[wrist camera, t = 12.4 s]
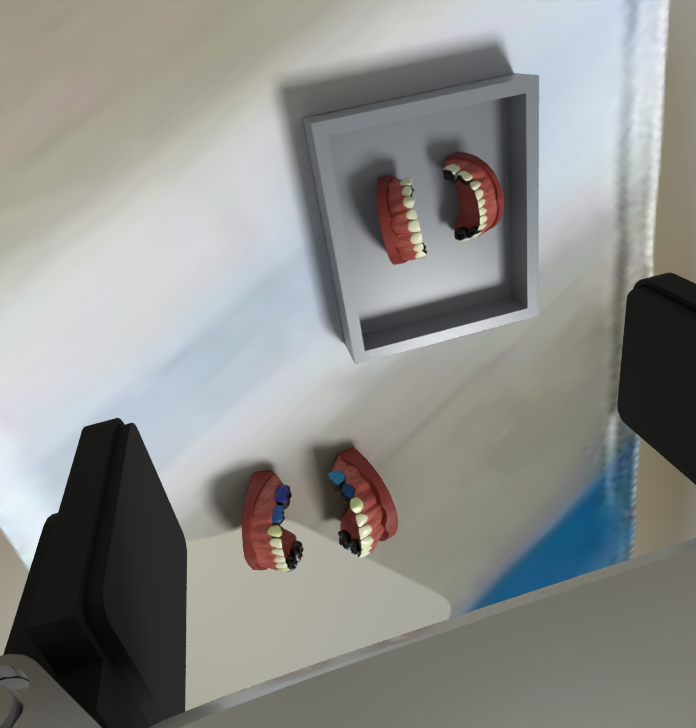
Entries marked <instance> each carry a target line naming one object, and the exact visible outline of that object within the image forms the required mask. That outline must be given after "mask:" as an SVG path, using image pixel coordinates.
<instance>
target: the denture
mask: <svg viewBox="0 0 696 728" xmlns="http://www.w3.org/2000/svg"><path fill="white" fill-rule="evenodd" d="M444 165H445V166H444V168H443V175H444V178H445V179H446V180H449V181H450V182H452V183H456V186H457V190H458V195H459V202H460V214H459V218H458V220H457V222H456V224H455V226H454V236H455V239H456V240H459V241H467V240H469V239H470V238H475V237H477V236H480V235H482V234H483V233H484V232H486V231H488V230H490V229H491V228H493V227H495V226H496V225H497V224H498V222H499V221H500V219H501V217H502V211H503V207H504V195H503V191H502V188H501V185H500V183H499V181H498V179H497V176H496V174H495V173H494V171H493V170H492V169H491V167H490V166H489V165H488V164H487V163H486V162H484V161H483V160H482V159H480V158H479V157H477V156H475V155H472V154H469V153H465V152H456V153H454V154H452V155H450V156H448V157H446V160H445V163H444ZM413 192H414V189H413V188H412V178H411V177H408V178H405V179H403V180H401V179H398V178H397V177H395V176H393V175H387V176H383V177H379V178H378V179H377V186H376V197H377V209H378V216H379V222H380V228H381V233H382V237H383V241H384V245H385V248H386V251H387V254H388V257H389V260H390V261H391V263H392V264H393V265H397V264H402V263H405V262H407V261H408V260H415V259H423V258H425V257H426V256H427V253H428V252H427V251H426V250H425V249H426V246H425V245H424V243H423V242H422V241H423V240H422V234H421V232H419V231H421V229H420V225H419V222H418V220H417V213H416V211H415V209H412V208H413V206H414V203H415V200H414V198H413V197H412V195H413ZM414 219H415V220H414ZM413 232H414V233H413Z"/></svg>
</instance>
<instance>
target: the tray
mask: <svg viewBox="0 0 696 728" xmlns="http://www.w3.org/2000/svg"><path fill="white" fill-rule="evenodd" d="M302 120H303V125H304V130H305V135H306V141H307V146H308V151H309V156H310V162H311V167H312V172H313V177H314V183H315V188H316V193H317V198H318V204H319V209H320V214H321V219H322V225H323V230H324V235H325V240H326V246H327V251H328V256H329V261H330V267H331V272H332V277H333V282H334V288H335V293H336V298H337V303H338V308H339V314H340V319H341V324H342V329H343V335H344V340H345V345H346V347H347V349H348V351H349V353H350V355H351V357H352V359H353V361H354V363H355V364H358V363H362V362H366V361H369V360H373V359H377V358H381V357H385V356H388V355H392V354H396V353H400V352H403V351H407V350H411V349H415V348H418V347H422V346H426V345H430V344H433V343H437V342H441V341H445V340H448V339H452V338H456V337H460V336H464V335H467V334H471V333H475V332H479V331H482V330H486V329H490V328H494V327H497V326H501V325H505V324H509V323H512V322H516V321H520V320H524V319H527V318H531V317H535V316H538V167H539V75H528V74H515V73H514V74H509V75H504V76H500V77H495V78H490V79H485V80H481V81H476V82H471V83H466V84H462V85H457V86H452V87H447V88H443V89H438V90H433V91H428V92H424V93H419V94H414V95H409V96H405V97H400V98H395V99H391V100H386V101H381V102H376V103H372V104H367V105H362V106H357V107H353V108H348V109H343V110H338V111H334V112H329V113H324V114H319V115H315V116H310V117H305V118H302ZM456 152H465V153H469V154H472V155H475V156H477V157H479V158H480V159H482V160H483V161H484V162H486V163H487V164H488V165H489V166H490V167H491V169H492V170H493V171H494V173H495V174H496V176H497V179H498V181H499V183H500V185H501V188H502V191H503V195H504V207H503V211H502V217H501V219H500V221H499V222H498V224H497V225H496V226H495V227H493V228H491V229H490V230H488V231H486V232H484V233H483V234H482V235H480V236H477V237H475V238H470V239H469V240H467V241H459V240H456V239H455V236H454V226H455V224H456V222H457V220H458V218H459V214H460V202H459V195H458V190H457V186H456V183H452V182H450V181H449V180H446V179H445V178H444V175H443V168H444V166H445V165H444V163H445V160H446V157H448V156H450V155H452V154H454V153H456ZM387 175H393V176H395V177H397V178H398V179H401V180H403V179H405V178H408V177H411V178H412V188H413V189H414V192H413V195H412V197H413V198H414V200H415V203H414V206H413V208H412V209H415V211H416V213H417V220H418V222H419V225H420V229H421V231H419V232H421V234H422V240H423V241H422V242H423V243H424V245H425V246H426V249H425V250H426V251H427V252H428V253H427V256H426V257H425V258H423V259H415V260H408V261H407V262H405V263H402V264H397V265H393V264H392V263H391V261H390V260H389V257H388V254H387V251H386V248H385V245H384V241H383V237H382V233H381V228H380V222H379V216H378V209H377V197H376V186H377V179H378V178H379V177H383V176H387ZM414 220H415V219H414ZM413 233H414V232H413Z"/></svg>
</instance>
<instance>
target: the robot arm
mask: <svg viewBox="0 0 696 728" xmlns="http://www.w3.org/2000/svg"><path fill="white" fill-rule="evenodd" d="M617 405H618V412H619V415H620V417H621V419H622V420H623V422H624V423H625V424H626V425H627V426H628V427H630V428H631V429H632V430H633V431H634V432H635V433H637V434H638V435H639V436H640V437H641V438H642V439H644V440H645V441H646V442H647V443H648V444H649V445H651V446H652V447H653V448H654V449H655V450H656V451H657V452H659V453H660V454H661V455H662V456H663V457H664V458H665V459H667V460H668V461H669V462H670V463H671V464H672V465H674V466H675V467H676V468H677V469H678V470H679V471H680V472H682V473H683V474H684V475H685V476H686V477H687V478H689V479H690V480H691V481H692V482H693V483H694V484H695V485H696V284H695V283H693V282H691V281H689V280H687V279H684V278H682V277H680V276H678V275H676V274H673V273H665V274H661V275H657V276H653V277H650V278H646V279H642V280H639V281H638V282H637V283H636V284H635V286H634V288H633V290H631V291H630V292H629V294H628V296H627V303H626V314H625V325H624V336H623V348H622V359H621V370H620V382H619V393H618V404H617ZM186 584H187V549H186V542H185V538H184V534H183V532H182V529H181V527H180V525H179V522H178V520H177V518H176V516H175V513H174V511H173V509H172V506H171V504H170V502H169V500H168V497H167V495H166V493H165V490H164V488H163V486H162V484H161V481H160V479H159V477H158V474H157V472H156V470H155V468H154V465H153V463H152V461H151V458H150V456H149V454H148V452H147V449H146V447H145V445H144V442H143V440H142V438H141V436H140V433H139V431H138V429H137V427H136V425H135V424H134V423H129V424H125V425H124V423H123V422H122V420H121V419H119V418H115V419H112V420H108V421H104V422H100V423H97V424H93V425H89V426H86V427H84V428H83V430H82V433H81V436H80V440H79V443H78V446H77V450H76V453H75V457H74V460H73V464H72V467H71V471H70V474H69V477H68V481H67V484H66V488H65V491H64V495H63V498H62V502H61V505H60V508H59V512H58V513H56V514H52V515H51V516H50V517H48V518H47V520H46V522H45V524H44V527H43V530H42V533H41V536H40V539H39V543H38V546H37V549H36V552H35V555H34V559H33V562H32V565H31V568H30V571H29V575H28V578H27V581H26V584H25V588H24V591H23V594H22V597H21V600H20V603H19V607H18V610H17V613H16V616H15V619H14V623H13V626H12V629H11V632H10V635H9V639H8V642H7V645H6V648H5V651H4V655H2V656H0V728H696V538H695V539H692V540H689V541H685V542H682V543H679V544H676V545H673V546H670V547H667V548H664V549H661V550H658V551H655V552H652V553H649V554H646V555H642V556H639V557H636V558H633V559H630V560H627V561H624V562H621V563H618V564H615V565H612V566H609V567H606V568H603V569H599V570H596V571H593V572H590V573H587V574H584V575H581V576H578V577H575V578H572V579H569V580H566V581H563V582H560V583H557V584H554V585H551V586H548V587H545V588H541V589H538V590H535V591H532V592H529V593H526V594H523V595H520V596H517V597H514V598H511V599H508V600H505V601H502V602H499V603H496V604H493V605H490V606H487V607H484V608H481V609H478V610H475V611H472V612H469V613H466V614H463V615H460V616H457V617H454V618H451V619H448V620H445V621H442V622H439V623H436V624H433V625H430V626H427V627H424V628H421V629H418V630H415V631H412V632H409V633H406V634H403V635H400V636H397V637H394V638H391V639H388V640H385V641H382V642H379V643H376V644H373V645H370V646H367V647H364V648H361V649H358V650H355V651H352V652H349V653H346V654H343V655H340V656H337V657H334V658H331V659H328V660H326V661H323V662H320V663H317V664H314V665H311V666H308V667H305V668H303V669H300V670H297V671H294V672H291V673H289V674H286V675H283V676H280V677H277V678H274V679H271V680H268V681H266V682H263V683H260V684H257V685H255V686H251V687H249V688H246V689H243V690H240V691H238V692H234V693H232V694H229V695H226V696H223V697H221V698H218V699H216V700H213V701H211V702H208V703H206V704H203V705H201V706H198V707H196V708H193V709H191V710H188V711H186V712H185V677H186V673H185V672H186V669H185V668H186V590H187V587H186Z"/></svg>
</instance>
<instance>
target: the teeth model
mask: <svg viewBox="0 0 696 728" xmlns="http://www.w3.org/2000/svg"><path fill="white" fill-rule="evenodd" d="M328 477H329V478H330V479H329V481H330V482H331V483H332V484H333V486H334V487H333V489H334V491H340V490H341V493H340V494H341V496H343V497H345V500H346V501H347V502H350V505H349V508H348V510H347V512H346V513H345V515H344V516H343V518H342V520H341V531H339V532H338V535H339V536H340V537H339V544H340V545H343V547H344V548H345V549H347V550H349V549H351V553H353V554H355V555H356V554H358V558H362V557H365V556H366V555H368V554H369V553H370V552H372V550H373V549H374V548H375V546H376V545H377V543H378V541H385V540H387V539H389V538H390V537H392V536H393V535H395V534H396V531H397V528H398V518H397V513H396V509H395V506H394V503H393V501H392V498H391V496H390V493H389V491H388V489H387V487H386V486H385V484H384V482H383V481H382V479H381V477H380V476H379V474H378V473H377V472H376V470H375V469H374V468H373V466H372V465H371V464H370V463H369V462H368V460H367V459H366V458H365V457H364V456H363V455H362V454H361V453H360V452H359V451H357V450H356V449H355V448H350V449H348V450H346V451H344V452H343V453H341V454H339V456H338V458H337V459H336V462H335V464H334V466H333V468H332V471H331V472H329V473H328ZM291 496H292V495H291V491H290V487H289V486H288V485H284V484H283V483H282V482H281V480H280V479H279V477H278V476H277V475H276V474H273V472H272V471H259V472H254V473H253V476H252V478H251V481H250V484H249V487H248V490H247V494H246V498H245V504H244V509H243V517H242V538H243V550H244V557H245V560H246V561H247V563H248V565H249V566H250V567H251V568H252V569H253V570H266V569H267V568H271V569H275V570H277V571H280V572H285V571H287V572H289V571H292V570H294V569H295V568H296V565H297V563H298V562H299V561H300V560H301V557H302V556H303V555H302V552H303V547H302V543H301V542H300V541H296V536H295V535H294V534H293V533H291V532H289V531H287V530H285V529H284V528H282V527H281V526H280V524H281V523H282V522H283V521H284V519H285V517H284V515H283V514H284V509H286V508H288V506H289V504H290V498H291Z"/></svg>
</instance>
